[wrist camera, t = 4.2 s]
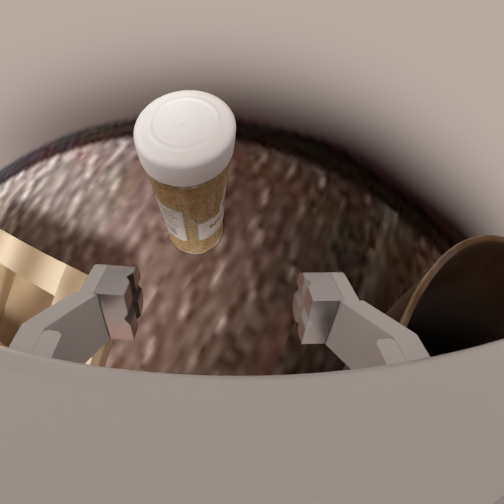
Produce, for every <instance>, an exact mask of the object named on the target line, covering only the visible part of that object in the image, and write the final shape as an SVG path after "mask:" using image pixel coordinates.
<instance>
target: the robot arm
mask: <svg viewBox="0 0 504 504" xmlns="http://www.w3.org/2000/svg"><path fill="white" fill-rule="evenodd" d="M139 280H140V273H139V269H138V267H133V266H118V265H104V264H96V265H94V266H93V268H92V270H91V271H90V273H89V275H88V276H87V278H86V280H85V281H84V283H83V285H82V287H81V288H80V290H79V292H74V293H72V294H70V295H69V296H67V297H65V298H64V299H62V300H60V301H59V302H57V303H55V304H54V305H52V306H50V307H49V308H47V309H45V310H44V311H42V312H40V313H39V314H37V315H36V316H34V317H32V318H31V319H29V320H28V321H26V322H24V323H23V324H22V325H21V327H20V328H19V330H18V332H17V333H16V335H15V337H14V339H13V340H12V342H11V344H10V346H9V348H7V347H4V346H0V504H504V338H503V339H500V340H497V341H493V342H490V343H486V344H483V345H479V346H475V347H471V348H468V349H464V350H459V351H455V352H451V353H447V354H442V355H437V356H433V357H430V356H429V354H428V352H427V351H426V349H425V347H424V346H423V344H422V342H421V341H420V339H419V337H418V336H417V334H415V333H414V332H412V331H411V330H409V329H408V328H406V327H405V326H403V325H401V324H400V323H398V322H397V321H395V320H393V319H392V318H390V317H389V316H387V315H386V314H384V313H382V312H381V311H379V310H378V309H376V308H374V307H373V306H371V305H370V304H368V303H366V302H365V301H359V299H358V297H357V295H356V293H355V292H354V290H353V288H352V286H351V285H350V283H349V281H348V279H347V278H346V276H345V274H344V273H342V272H322V273H299V276H298V279H297V285H298V288H299V290H298V291H296V292H295V293H294V298H293V315H294V319H295V321H296V322H298V323H299V325H298V329H297V330H298V334H299V337H300V341H301V344H323V343H326V345H327V346H328V347H329V348H330V349H331V350H332V351H333V352H334V353H335V354H336V355H337V356H338V357H339V358H340V359H341V360H342V361H343V362H344V363H345V364H346V365H347V366H348V367H349V368H350V369H351V370H342V371H332V372H320V373H306V374H289V375H259V376H215V375H187V374H170V373H156V372H145V371H135V370H126V369H117V368H109V367H102V366H95V365H89V364H85V363H86V362H87V361H88V360H89V359H90V358H91V357H92V356H93V355H94V354H95V353H96V352H97V351H98V350H100V349H101V348H102V347H103V346H104V345H105V344H106V343H107V342H108V341H109V340H110V338H114V339H128V340H134V338H135V334H136V331H137V327H138V323H137V318H139V317H140V316H141V313H142V308H143V292H142V288H141V287H140V286H139V285H138V283H139Z"/></svg>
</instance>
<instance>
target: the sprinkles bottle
mask: <svg viewBox="0 0 504 504" xmlns="http://www.w3.org/2000/svg"><path fill="white" fill-rule="evenodd" d="M235 136H236V121H235V118H234V115H233V113H232V111H231V109H230V108H229V107H228V105H227V104H226V103H225V102H223V101H222V100H221V99H219V98H218V97H216V96H214V95H212V94H209V93H206V92H202V91H196V90H183V91H176V92H172V93H169V94H166V95H164V96H162V97H160V98H157V99H156V100H154V101H153V102H151V103H150V104H149V105H148V106H147V107H146V108H145V109H144V110H143V111H142V112H141V114H140V115H139V117H138V119H137V121H136V124H135V127H134V143H135V146H136V150H137V154H138V157H139V159H140V162H141V165H142V167H143V168H144V170H145V171H146V172H147V174H148V175H149V176H150V180H151V183H152V188H153V192H154V195H155V197H156V200H157V203H158V205H159V208H160V211H161V214H162V216H163V219H164V221H165V224H166V226H167V228H168V231H169V236H170V238H171V241H172V242H173V244H174V245H175V246H176V247H177V248H178V249H180V250H182V251H184V252H186V253H190V254H201V253H204V252H207V251H208V250H210V249H212V248H213V247H214V246H215V245H216V244H217V243H218V242H219V240H220V238H221V236H222V233H223V221H222V220H223V215H224V205H225V193H226V185H227V181H226V175H227V166H228V163H229V161H230V160H231V158H232V155H233V151H234V145H235Z"/></svg>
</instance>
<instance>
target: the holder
mask: <svg viewBox="0 0 504 504" xmlns="http://www.w3.org/2000/svg"><path fill="white" fill-rule="evenodd" d="M87 276H88V275H87V274H85V273H83V272H81V271H79V270H77V269H75V268H73V267H71V266H69V265H67V264H65V263H63V262H61V261H59V260H57V259H55V258H53V257H51V256H49V255H47V254H45V253H43V252H41V251H39V250H37V249H36V248H34V247H32V246H30V245H28V244H26V243H24V242H23V241H21V240H19V239H17V238H15V237H14V236H12V235H10V234H8V233H6V232H5V231H3V230H1V229H0V346H4V347H7V348H9V346H10V344H11V342H12V340H13V339H14V337H15V335H16V333H17V332H18V330H19V328H20V327H21V325H22V324H23V323H24V322H26V321H28V320H29V319H31V318H32V317H34V316H36V315H37V314H39V313H40V312H42V311H44V310H45V309H47V308H49V307H50V306H52V305H54V304H55V303H57V302H59V301H60V300H62V299H64V298H65V297H67V296H69V295H70V294H72V293H74V292H79V290H80V288H81V287H82V285H83V283H84V281H85V280H86V278H87ZM113 339H114V338H110V340H109V341H108V342H107V343H106V344H105V345H104V346H103V347H102V348H101V349H100V350H98V351H97V352H96V353H95V354H94V355H93V356H92V357H91V358H90V359H89V360H88V361H87V362H86V363H85V364H89V365H95V366H102V367H105V364H106V360H107V357H108V354H109V351H110V348H111V345H112V342H113Z"/></svg>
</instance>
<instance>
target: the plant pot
mask: <svg viewBox="0 0 504 504" xmlns="http://www.w3.org/2000/svg"><path fill="white" fill-rule="evenodd" d="M385 314H386V315H387V316H389V317H390V318H392V319H393V320H395V321H397V322H398V323H400V324H401V325H403V326H405V327H406V328H408V329H409V330H411V331H412V332H414V333H415V334H417V336H418V337H419V339H420V341H421V342H422V344H423V346H424V347H425V349H426V351H427V352H428V354H429V356H430V357H433V356H437V355H442V354H447V353H451V352H455V351H459V350H464V349H468V348H471V347H475V346H479V345H483V344H486V343H490V342H493V341H497V340H500V339H503V338H504V237H500V236H493V235H482V236H476V237H472V238H469V239H467V240H464V241H462V242H460V243H458V244H456V245H455V246H453V247H452V248H451V249H449V250H448V251H447V252H446V253H444V254H443V255H442V256H441V257H440V258H439V259H438V260H437V261H436V262H435V263H434V264H433V265H432V266H431V267H430V268H429V269H428V270H427V271H426V272H425V273H424V274H423V275H422V276H421V277H420V278H419V279H418V280H417V281H416V282H415V284H414V285H413V286H412V287H411V288H410V289H409V290H408V291H407V292H406V293H405V294H404V295H403V296H401V297H400V298H399V299H398V300H397V302H396V303H395V304H394V305H393V306H392V307H391V308H390V309H389V310H388V311H387V312H386V313H385ZM342 370H351V369H350V368H349V367H348V366H347V365H346V364H345V365H344V367H343V369H342Z"/></svg>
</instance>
